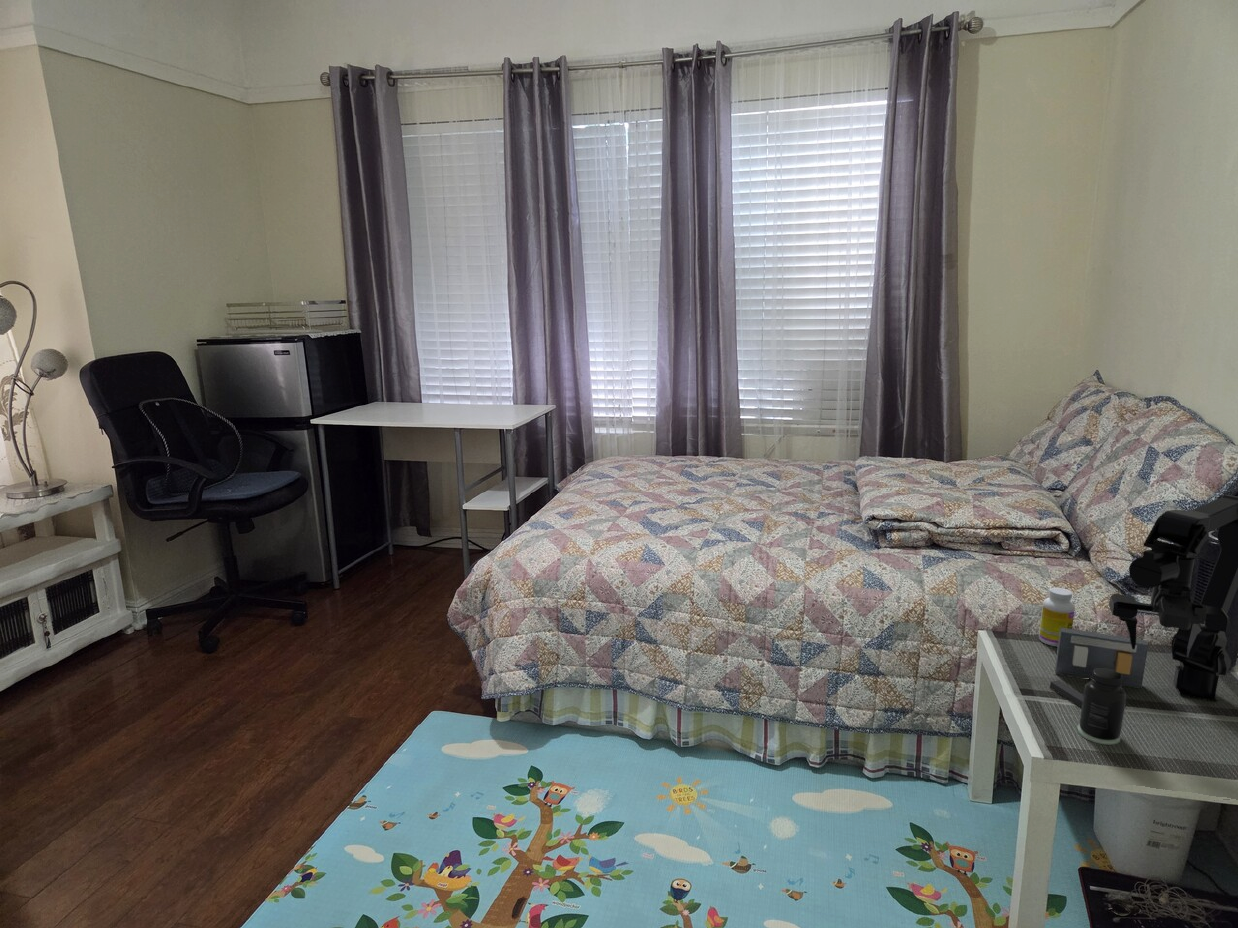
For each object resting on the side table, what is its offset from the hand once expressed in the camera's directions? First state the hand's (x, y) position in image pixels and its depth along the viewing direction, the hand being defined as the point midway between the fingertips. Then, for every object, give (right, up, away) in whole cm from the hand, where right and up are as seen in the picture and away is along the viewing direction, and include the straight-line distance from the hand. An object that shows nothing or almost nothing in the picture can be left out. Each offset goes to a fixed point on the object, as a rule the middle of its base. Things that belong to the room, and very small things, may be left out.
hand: (1160, 652), depth 157 cm
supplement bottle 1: (-3, -6, +34) cm, 34 cm away
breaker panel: (-3, -9, +16) cm, 19 cm away
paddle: (-7, -6, +15) cm, 18 cm away
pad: (-15, -14, -4) cm, 21 cm away
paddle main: (0, -7, +12) cm, 14 cm away
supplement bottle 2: (-15, -14, -4) cm, 21 cm away
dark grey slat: (-12, -12, +7) cm, 18 cm away
